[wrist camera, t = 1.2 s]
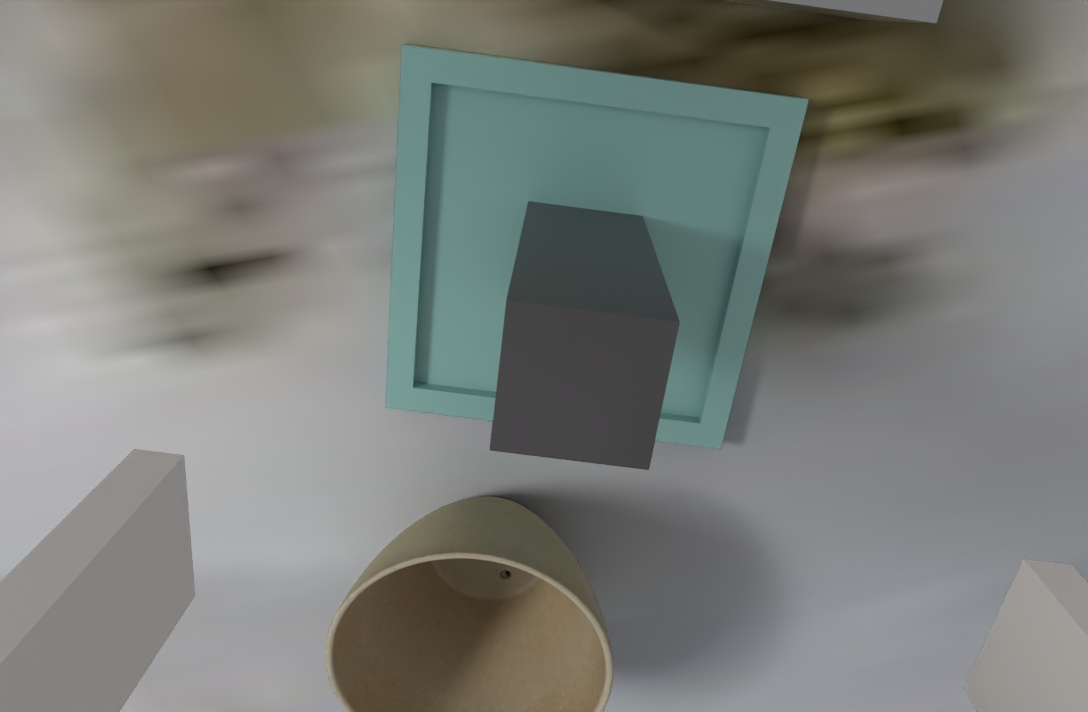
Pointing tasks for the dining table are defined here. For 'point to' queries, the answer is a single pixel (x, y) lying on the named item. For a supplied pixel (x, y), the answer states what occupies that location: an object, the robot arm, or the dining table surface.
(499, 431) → the plug
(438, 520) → the flower pot
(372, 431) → the dining table surface
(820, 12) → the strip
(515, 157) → the tray
